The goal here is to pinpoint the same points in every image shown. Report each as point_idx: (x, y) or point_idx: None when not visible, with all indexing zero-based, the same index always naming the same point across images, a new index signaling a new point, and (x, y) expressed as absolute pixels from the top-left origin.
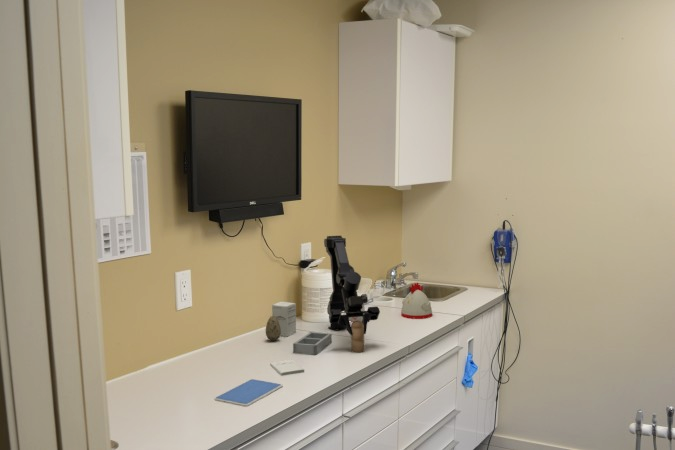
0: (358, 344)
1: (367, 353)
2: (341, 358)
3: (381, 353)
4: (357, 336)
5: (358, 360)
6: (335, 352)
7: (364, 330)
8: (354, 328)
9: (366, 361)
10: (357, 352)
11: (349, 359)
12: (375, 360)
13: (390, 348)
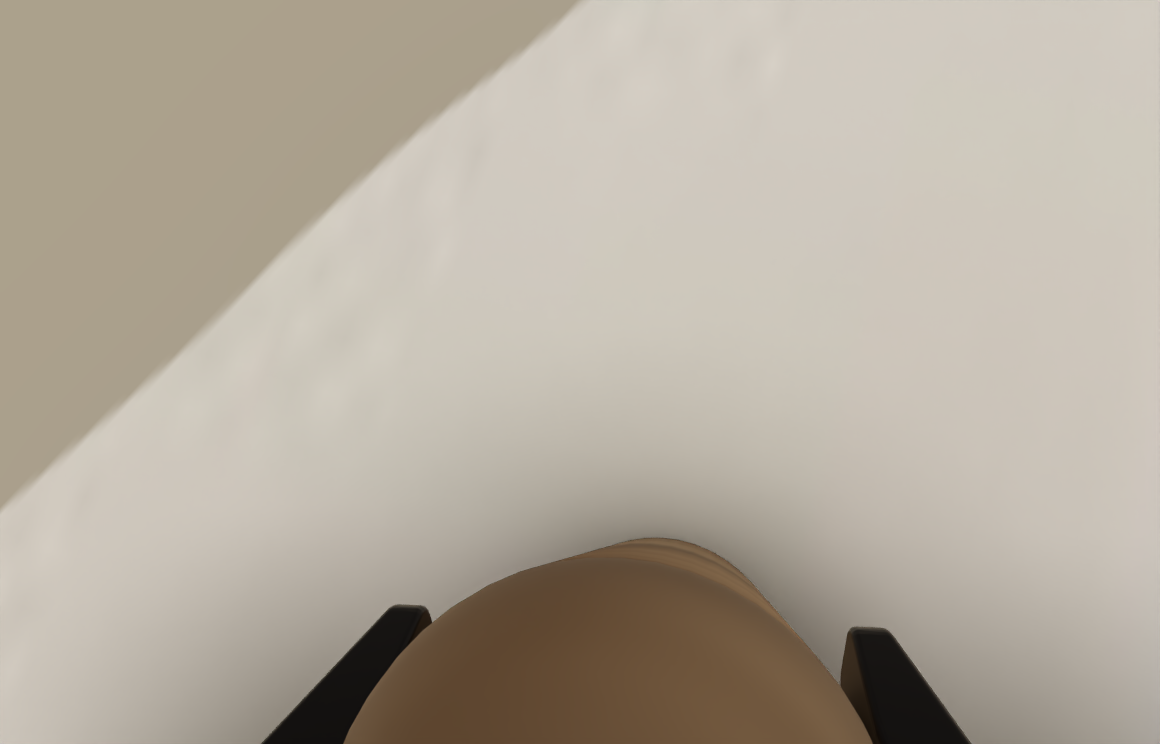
0: (670, 543)
1: (535, 441)
2: (1076, 283)
3: (315, 371)
4: (688, 557)
5: (795, 105)
6: (1136, 705)
7: None
8: (798, 638)
9: (681, 30)
10: (695, 545)
11: (937, 192)
12: (530, 47)
13: (71, 606)
